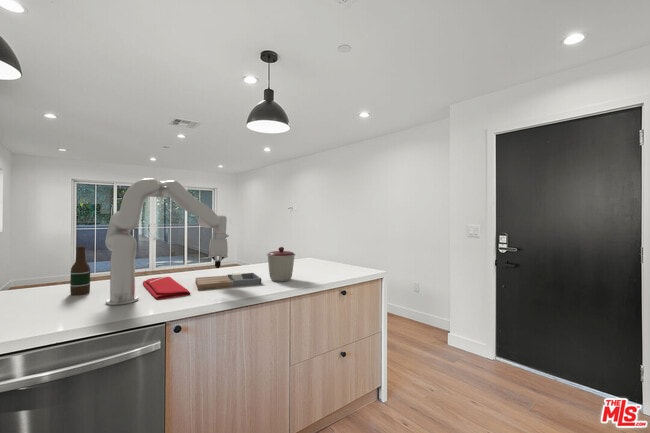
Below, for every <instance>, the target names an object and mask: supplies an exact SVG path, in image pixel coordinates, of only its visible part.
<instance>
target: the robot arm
mask: <svg viewBox="0 0 650 433" xmlns="http://www.w3.org/2000/svg"><path fill="white" fill-rule="evenodd" d="M149 197H150V198H151V197H152V198H153V197H154V198H166V197H167V198H168V197H169V198H170V199H171V200H173V202H175V203H176V205H178V206H179V207H180V208H181V209H182V210H183V211H186V212H188V213H191V214H194V215H195V216H197V217H198V219H197V223H198V225H199V226H200V227H202V228H205V229H206V228H207V229H209V228H210V229H212V233H211V234H212V237H211V238H210V240H209V246H208V256H207V257H208V258H209V259H212V260H213V261H214V267H215V269H220V267H221V262H222V261H223V260H224V259H226V258H229V257H228V252H229V251H228V248H229V247H228V246H229V245H228V239H227V238H229V234H227V223H228V222H227V221H228V219H227V216H226V215H218V214H217V213H216V212H214V210H212V209H211V207H209V206H208V205H207V204H204V203H203V202H201V200H198V199H197V198H195V196H193V195H192V194H191V192H189V191H188V189H186V188H185V187H184V186H183V185H182V184H181V183H180V182H179V181H177V180H173V179H170V180H157V179H155V178H153V177H151V178H150V177H148V178H143V179H139V180H136V181H135V182H134V183H132V184H131V185H130V186H129V187H128V188H127V190H126V191H125V193H124V195H123V198H122V201H121V204H120V208H119V210H118V211H116V212H114V213H113V214H112V215H111V217H110V219H109V223H108V226H107V227H108V228H107V231H106V235H105V242H104V244H105V246H106V248H107V250H109V251H110V252H111V254H110V255H111V256H110V268H109V271H110V274H109V276H110V277H109V278H110V279H109V284H110V285H109V291H110V292H109V298H107V299H106V300H105V304H106V305H109V306H112V305H113V306H116V305H118V306H119V305H127V304H131V303H136V302H137V301H138V300H139V296H137V295H135V293H136V292H135V291H136V285H135V284H136V279H135V278H136V254H137V247H138V245H137V244H138V242H137V240H136V238H135V237H134V236H133V235H132V234H131V231H133V230H135V229H137V228H138V226H139V224H140V219H141V215H142V211H143V210H142V209H143V208H144V207H143V206H144V204H145V201H146V200H147V198H149ZM218 257H219V258H218Z"/></svg>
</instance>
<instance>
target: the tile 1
mask: <svg viewBox="0 0 650 433" xmlns="http://www.w3.org/2000/svg"><path fill="white" fill-rule="evenodd" d="M231 274H232V279H242V274H243V273H241V272H234V273H233V272H232V273H231Z"/></svg>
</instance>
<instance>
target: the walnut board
mask: <svg viewBox="0 0 650 433" xmlns="http://www.w3.org/2000/svg"><path fill="white" fill-rule="evenodd" d="M227 275H228V274H227ZM227 275H214V276H201V277H200V276H199V277H195V285H196V288H197V291H204V290H214V289H225V288H226V289H228V288H233V286H232V281H231V280H230V278H229V277H228V276H227Z"/></svg>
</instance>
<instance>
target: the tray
mask: <svg viewBox="0 0 650 433" xmlns="http://www.w3.org/2000/svg"><path fill="white" fill-rule="evenodd" d="M241 274H242V278H243V280H233V279H232V273H229V274H227V276H228V277H229V278H230V280H231V281H232V288H237V287H238V288H239V287H246V286H249V287H250V286H257V285H258V286H259V285H262V277H260V276H259V275H257V274H256V273H254V272H246V273H241Z"/></svg>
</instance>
